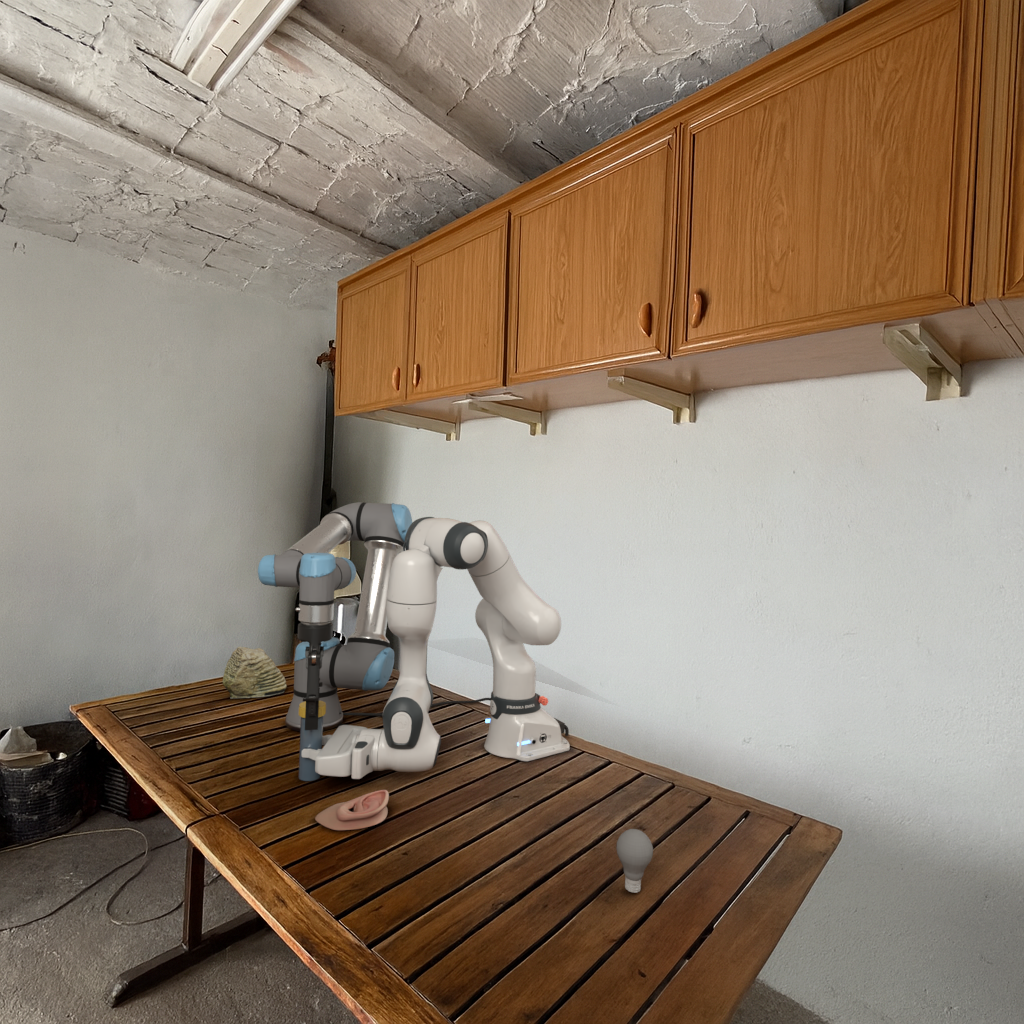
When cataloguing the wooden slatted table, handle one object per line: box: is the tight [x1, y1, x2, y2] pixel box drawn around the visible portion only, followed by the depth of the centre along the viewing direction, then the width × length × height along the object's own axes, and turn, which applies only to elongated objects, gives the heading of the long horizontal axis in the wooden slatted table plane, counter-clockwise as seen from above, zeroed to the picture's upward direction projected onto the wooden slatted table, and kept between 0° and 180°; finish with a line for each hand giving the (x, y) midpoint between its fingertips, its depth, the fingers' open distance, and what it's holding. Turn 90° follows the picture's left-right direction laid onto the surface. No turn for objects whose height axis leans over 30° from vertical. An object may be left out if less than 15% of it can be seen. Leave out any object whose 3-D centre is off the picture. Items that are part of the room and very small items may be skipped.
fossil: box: [222, 646, 288, 699], centre depth 198 cm, size 9×18×15 cm, turn 132°
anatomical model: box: [314, 789, 390, 831], centre depth 126 cm, size 13×4×12 cm
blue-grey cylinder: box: [298, 716, 324, 782], centre depth 143 cm, size 5×5×16 cm
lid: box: [299, 701, 326, 718], centre depth 143 cm, size 6×6×2 cm
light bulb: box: [615, 828, 654, 894], centre depth 106 cm, size 6×6×10 cm
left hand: (311, 722), depth 143 cm, fingers open, 8 cm apart
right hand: (306, 746), depth 143 cm, fingers closed on blue-grey cylinder, 5 cm apart
